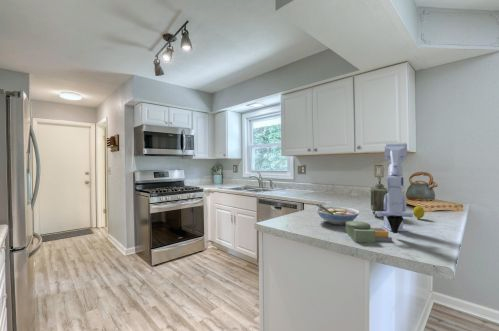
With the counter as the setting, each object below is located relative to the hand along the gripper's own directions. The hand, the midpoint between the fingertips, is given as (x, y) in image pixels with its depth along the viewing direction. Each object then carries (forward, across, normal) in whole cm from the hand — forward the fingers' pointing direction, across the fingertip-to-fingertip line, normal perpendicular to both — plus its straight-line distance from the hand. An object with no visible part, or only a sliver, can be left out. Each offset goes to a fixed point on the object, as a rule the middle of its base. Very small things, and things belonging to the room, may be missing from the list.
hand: (394, 232), depth 108 cm
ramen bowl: (+3, -19, +24) cm, 31 cm away
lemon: (+3, +32, +40) cm, 51 cm away
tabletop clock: (+3, +12, +45) cm, 47 cm away
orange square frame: (+3, -8, 0) cm, 8 cm away
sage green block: (+3, -12, 0) cm, 12 cm away
